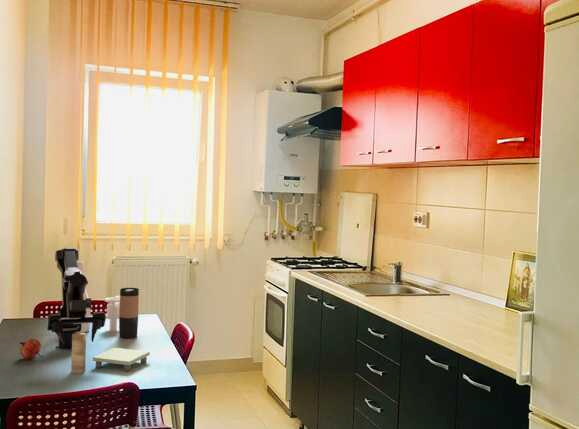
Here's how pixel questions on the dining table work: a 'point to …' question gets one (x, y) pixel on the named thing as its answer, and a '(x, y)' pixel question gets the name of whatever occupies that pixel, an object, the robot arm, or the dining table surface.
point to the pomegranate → (30, 349)
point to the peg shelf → (121, 357)
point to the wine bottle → (85, 326)
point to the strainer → (113, 311)
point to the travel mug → (128, 313)
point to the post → (78, 352)
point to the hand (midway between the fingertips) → (78, 342)
